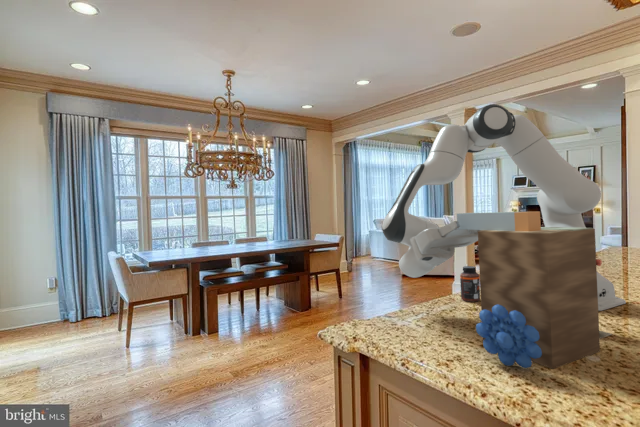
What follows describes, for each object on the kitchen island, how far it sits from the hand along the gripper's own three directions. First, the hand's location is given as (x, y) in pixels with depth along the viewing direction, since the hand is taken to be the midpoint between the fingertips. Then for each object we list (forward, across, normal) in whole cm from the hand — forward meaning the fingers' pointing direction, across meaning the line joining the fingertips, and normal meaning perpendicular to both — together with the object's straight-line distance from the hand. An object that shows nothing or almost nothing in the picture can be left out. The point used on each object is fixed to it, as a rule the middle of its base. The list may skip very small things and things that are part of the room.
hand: (470, 222), depth 89 cm
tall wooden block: (-2, -4, -31) cm, 31 cm away
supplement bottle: (-34, -23, -13) cm, 43 cm away
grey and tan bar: (+5, 0, -5) cm, 7 cm away
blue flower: (0, +11, -33) cm, 34 cm away
